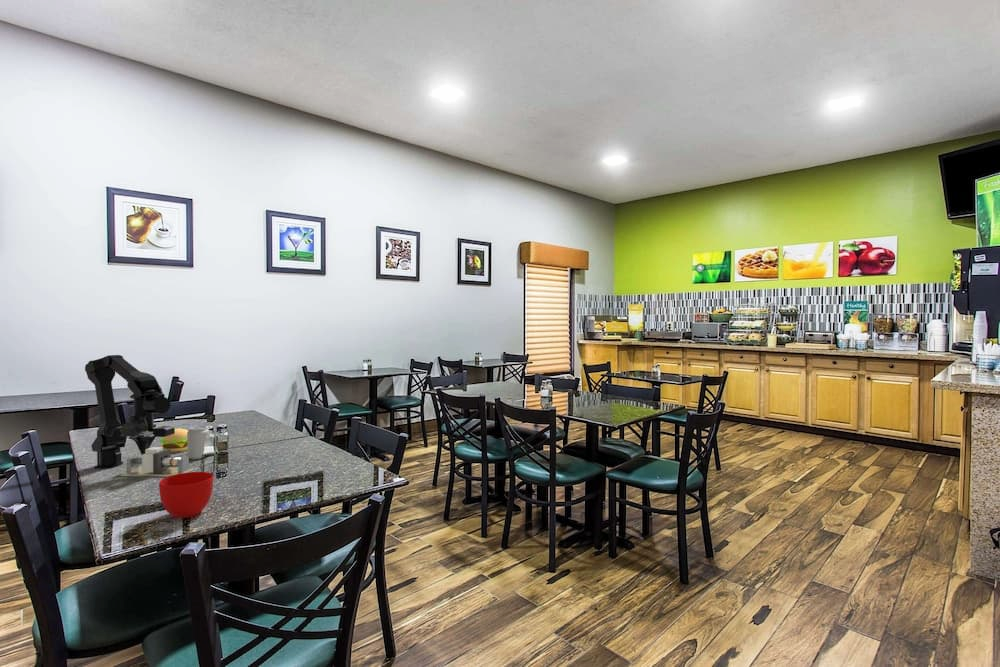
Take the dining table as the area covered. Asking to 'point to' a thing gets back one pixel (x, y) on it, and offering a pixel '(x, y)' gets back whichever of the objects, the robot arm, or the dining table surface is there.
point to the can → (196, 441)
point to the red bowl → (186, 493)
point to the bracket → (149, 458)
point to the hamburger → (175, 441)
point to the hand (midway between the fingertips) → (143, 455)
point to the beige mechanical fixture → (181, 462)
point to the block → (157, 460)
